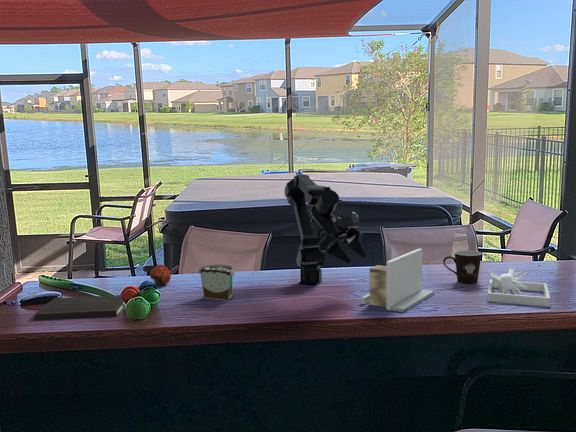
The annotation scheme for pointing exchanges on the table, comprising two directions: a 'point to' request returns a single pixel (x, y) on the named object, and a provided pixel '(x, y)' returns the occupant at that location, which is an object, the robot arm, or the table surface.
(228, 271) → the food container
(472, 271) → the coffee mug
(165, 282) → the pomegranate
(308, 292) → the table surface
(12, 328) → the table surface
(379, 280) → the beige upright block
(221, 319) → the table surface
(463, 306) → the table surface
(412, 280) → the board
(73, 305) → the hardcover book
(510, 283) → the spiky ball
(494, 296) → the white flat square tray
